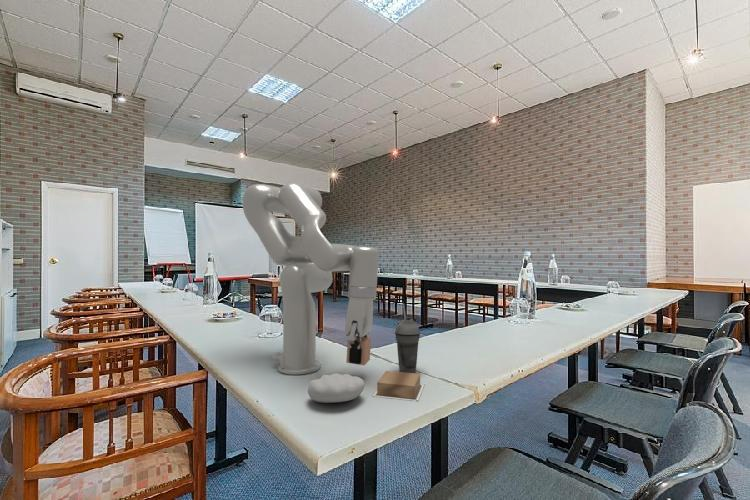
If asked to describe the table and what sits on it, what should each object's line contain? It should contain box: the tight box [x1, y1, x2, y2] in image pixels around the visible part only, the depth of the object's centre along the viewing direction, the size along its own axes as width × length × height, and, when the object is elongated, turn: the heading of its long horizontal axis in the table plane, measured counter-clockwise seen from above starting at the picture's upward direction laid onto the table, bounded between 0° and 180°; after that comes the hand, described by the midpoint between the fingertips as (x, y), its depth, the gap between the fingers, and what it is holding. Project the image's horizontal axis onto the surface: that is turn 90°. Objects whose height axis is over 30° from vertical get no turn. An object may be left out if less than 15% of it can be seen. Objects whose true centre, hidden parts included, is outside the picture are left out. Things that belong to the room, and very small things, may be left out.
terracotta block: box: [345, 336, 372, 366], centre depth 95 cm, size 5×5×6 cm
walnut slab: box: [376, 370, 421, 399], centre depth 88 cm, size 9×9×3 cm
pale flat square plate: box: [371, 383, 425, 403], centre depth 88 cm, size 11×11×1 cm
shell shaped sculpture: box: [307, 373, 365, 404], centre depth 82 cm, size 13×13×6 cm
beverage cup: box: [394, 303, 421, 373], centre depth 102 cm, size 7×7×20 cm
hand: (358, 359), depth 96 cm, fingers closed on terracotta block, 5 cm apart
